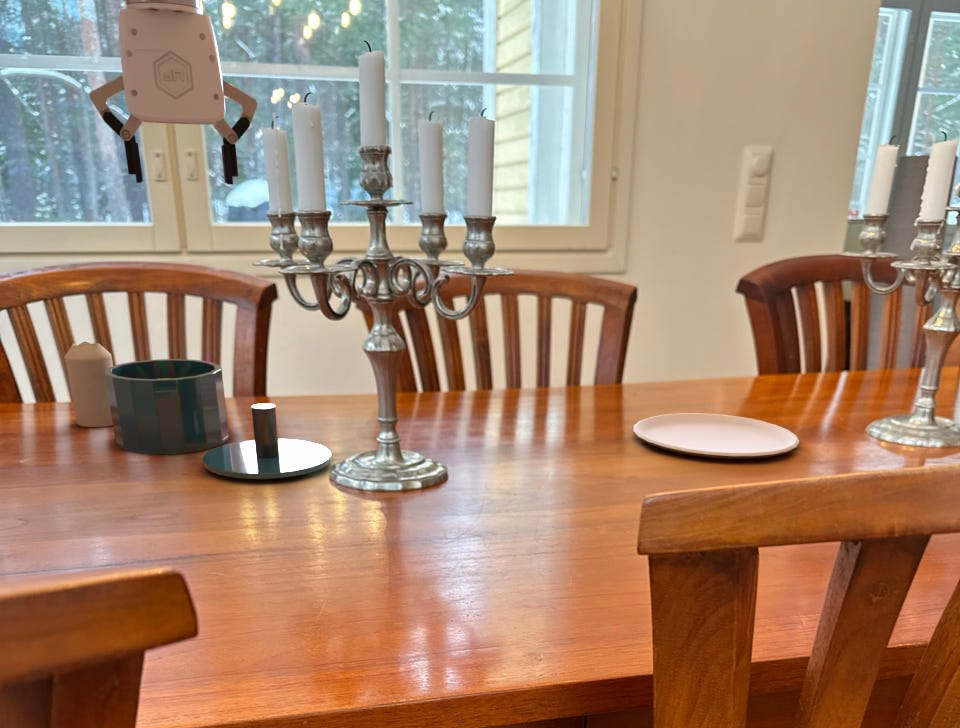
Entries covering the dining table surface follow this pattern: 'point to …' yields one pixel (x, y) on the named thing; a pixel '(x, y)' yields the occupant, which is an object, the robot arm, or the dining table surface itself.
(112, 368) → the pot
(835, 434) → the dining table surface
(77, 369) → the candle
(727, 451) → the plate
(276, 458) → the lid
